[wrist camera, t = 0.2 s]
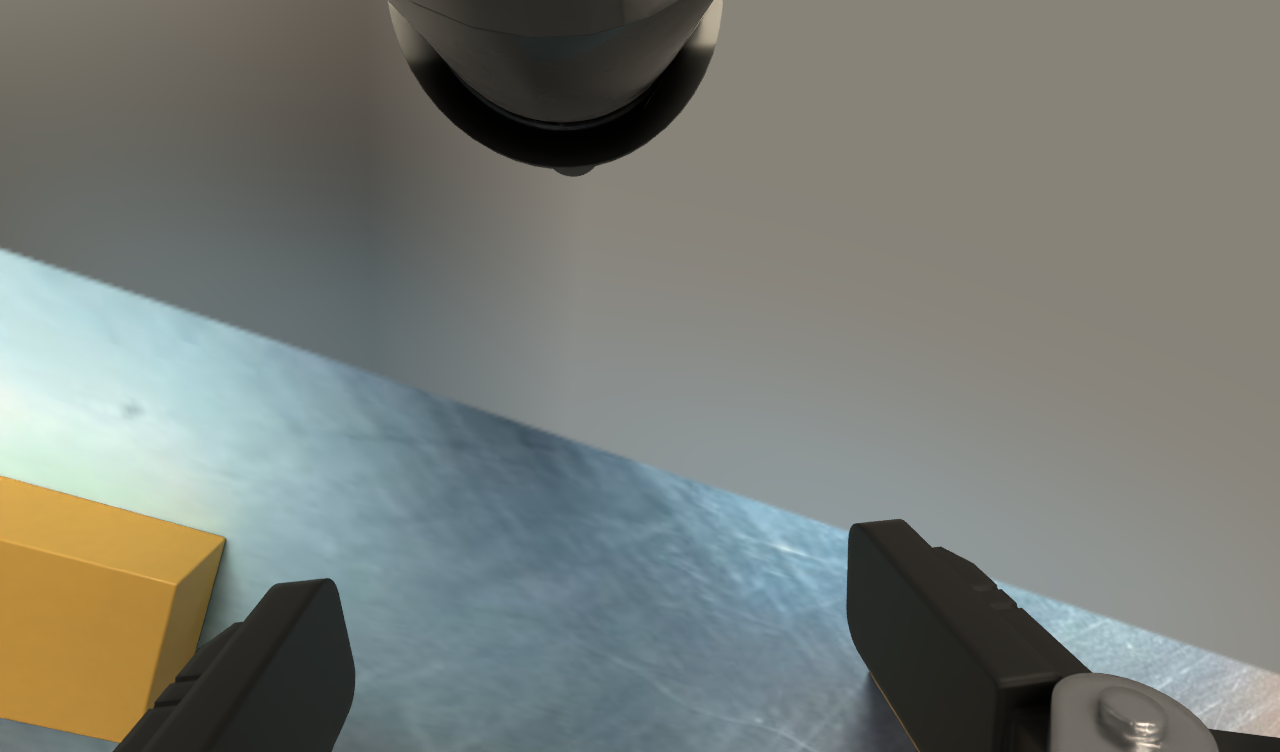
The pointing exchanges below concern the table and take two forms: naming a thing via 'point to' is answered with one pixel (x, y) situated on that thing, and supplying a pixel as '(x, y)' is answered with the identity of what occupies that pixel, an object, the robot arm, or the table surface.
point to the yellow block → (94, 609)
